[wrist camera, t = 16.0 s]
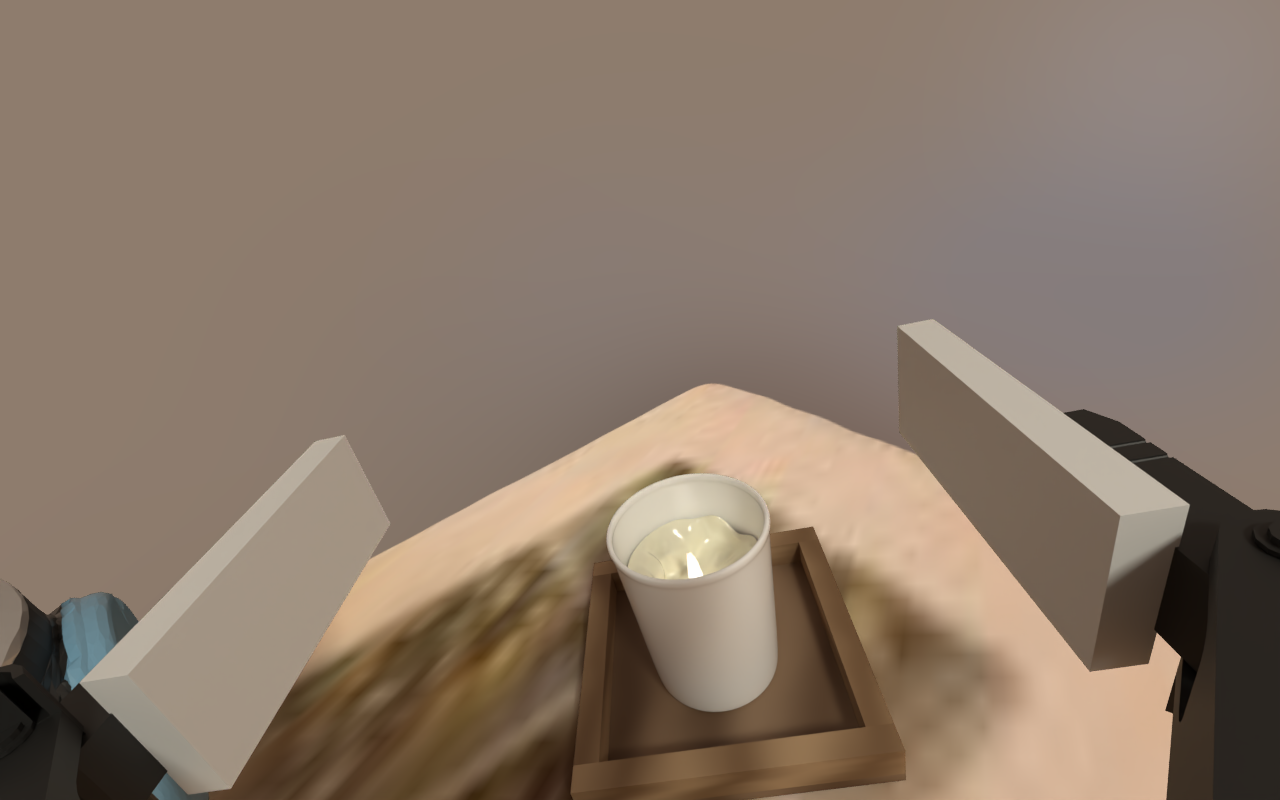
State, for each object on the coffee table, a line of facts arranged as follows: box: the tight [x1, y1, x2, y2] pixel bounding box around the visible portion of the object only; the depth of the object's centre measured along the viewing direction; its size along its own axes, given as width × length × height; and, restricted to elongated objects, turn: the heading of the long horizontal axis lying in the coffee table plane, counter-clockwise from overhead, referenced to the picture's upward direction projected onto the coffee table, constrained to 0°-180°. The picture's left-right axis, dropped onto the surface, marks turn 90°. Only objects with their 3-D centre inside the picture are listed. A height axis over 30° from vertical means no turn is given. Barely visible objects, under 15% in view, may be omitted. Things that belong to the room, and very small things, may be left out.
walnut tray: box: [571, 527, 906, 800], centre depth 39 cm, size 18×18×3 cm
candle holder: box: [606, 473, 778, 712], centre depth 37 cm, size 10×10×12 cm
